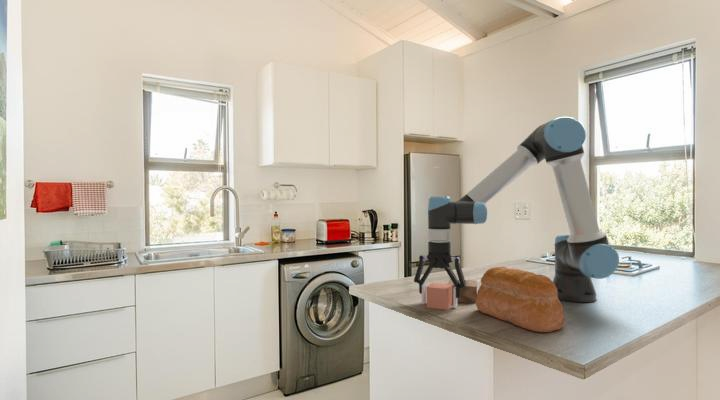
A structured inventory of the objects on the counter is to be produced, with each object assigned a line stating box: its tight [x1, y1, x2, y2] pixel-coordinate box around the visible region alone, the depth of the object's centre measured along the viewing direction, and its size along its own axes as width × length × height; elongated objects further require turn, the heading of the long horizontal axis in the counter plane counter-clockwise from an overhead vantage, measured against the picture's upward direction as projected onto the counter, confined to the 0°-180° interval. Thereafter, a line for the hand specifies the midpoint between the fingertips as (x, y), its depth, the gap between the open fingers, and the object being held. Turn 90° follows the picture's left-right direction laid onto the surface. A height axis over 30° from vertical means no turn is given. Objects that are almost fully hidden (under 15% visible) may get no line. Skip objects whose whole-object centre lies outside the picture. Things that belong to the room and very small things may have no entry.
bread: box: [475, 266, 565, 333], centre depth 120 cm, size 14×26×15 cm, turn 26°
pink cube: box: [426, 282, 453, 311], centre depth 135 cm, size 7×7×7 cm
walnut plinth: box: [447, 278, 478, 304], centre depth 144 cm, size 10×10×6 cm
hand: (439, 304), depth 135 cm, fingers open, 10 cm apart
